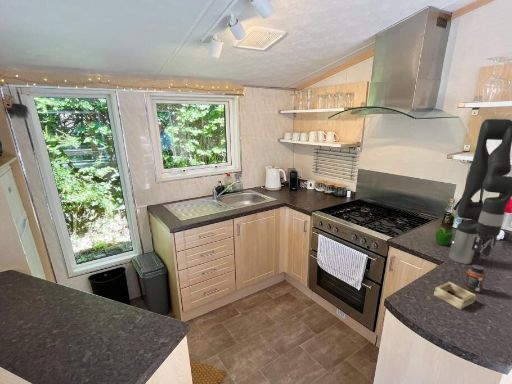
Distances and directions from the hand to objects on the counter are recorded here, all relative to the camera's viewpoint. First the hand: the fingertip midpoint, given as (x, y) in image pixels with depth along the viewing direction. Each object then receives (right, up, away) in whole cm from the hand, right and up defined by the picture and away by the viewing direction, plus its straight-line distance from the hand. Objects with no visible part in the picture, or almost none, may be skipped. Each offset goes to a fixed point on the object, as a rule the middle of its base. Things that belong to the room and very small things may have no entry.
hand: (480, 257), depth 113 cm
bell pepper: (+18, -4, +49) cm, 52 cm away
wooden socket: (-14, -17, -2) cm, 22 cm away
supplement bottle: (0, -16, +4) cm, 16 cm away
